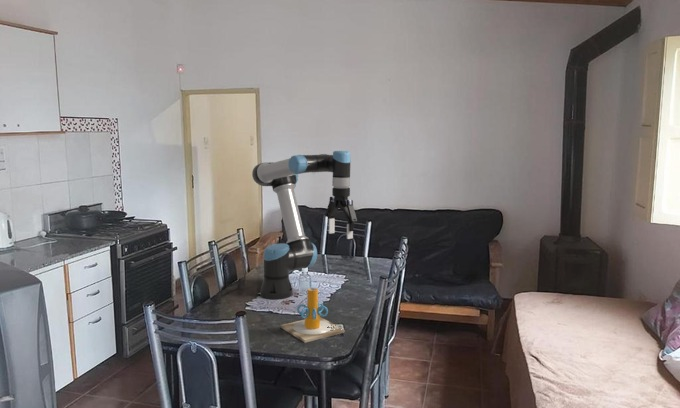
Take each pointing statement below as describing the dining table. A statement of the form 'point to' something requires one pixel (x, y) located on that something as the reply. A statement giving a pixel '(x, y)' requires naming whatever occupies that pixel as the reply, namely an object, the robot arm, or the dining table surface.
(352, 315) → the dining table surface
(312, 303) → the orange post with rings
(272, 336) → the dining table surface
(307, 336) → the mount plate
